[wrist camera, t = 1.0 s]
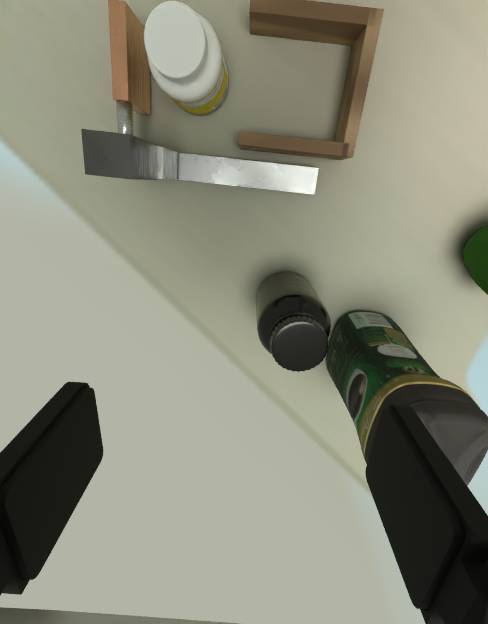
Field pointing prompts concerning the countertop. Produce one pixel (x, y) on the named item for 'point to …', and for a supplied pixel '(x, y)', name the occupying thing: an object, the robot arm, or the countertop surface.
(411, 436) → the robot arm
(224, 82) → the supplement bottle
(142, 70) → the carriage
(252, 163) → the rail
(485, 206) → the countertop surface
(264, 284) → the supplement bottle
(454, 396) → the coffee jar
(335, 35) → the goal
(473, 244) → the bell pepper
